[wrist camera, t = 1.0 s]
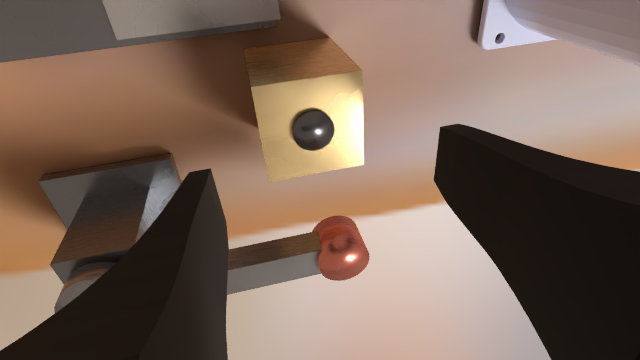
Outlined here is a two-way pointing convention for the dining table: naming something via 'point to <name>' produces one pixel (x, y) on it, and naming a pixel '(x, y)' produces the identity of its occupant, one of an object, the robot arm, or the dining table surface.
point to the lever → (268, 260)
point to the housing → (307, 107)
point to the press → (132, 175)
